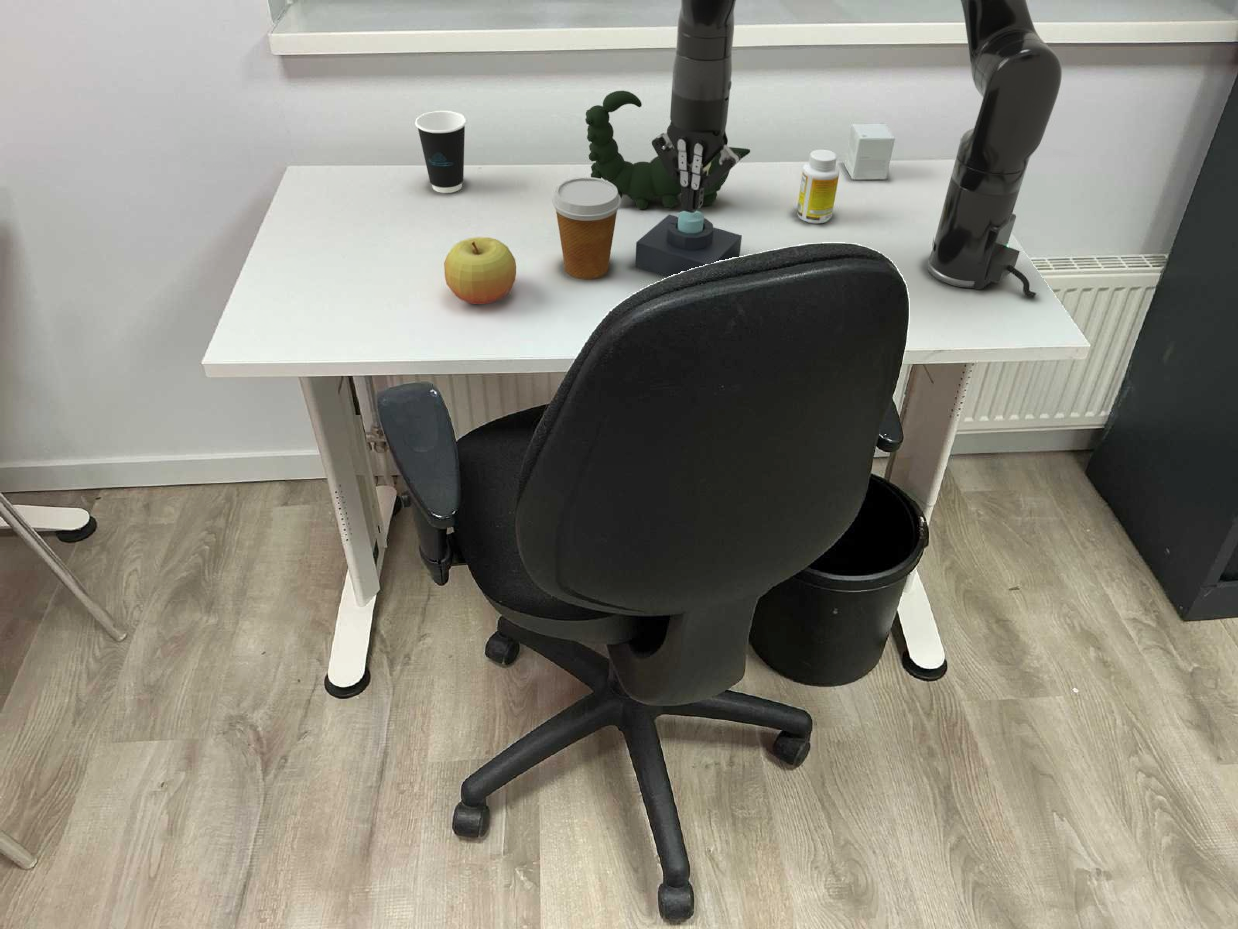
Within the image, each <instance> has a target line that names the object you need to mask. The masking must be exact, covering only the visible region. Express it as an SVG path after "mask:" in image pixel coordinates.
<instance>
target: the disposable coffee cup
mask: <svg viewBox="0 0 1238 929" xmlns="http://www.w3.org/2000/svg"><path fill="white" fill-rule="evenodd" d="M551 203H552V205H553V208H554V210H555V214H556V219H557V225H558V233H559V240H560V245H561V252H562V258H563V264H564V271H565V272H566V273H567V274H568V275H569V276H571V277H573V278H576V279H581V280H592V279H597V278H600V277H603V276H604V275H606V274H607V273H608V271H609V266H610V258H611V252H612V246H613V241H614V233H615V226H616V220H617V215H618V210H619V208H620V206H621V204H622V199H621V197H620V195H619V194H618V190H617V188H616V186H615V185H613V184H612V183H610V182H609V181H607V180H604V179H603V178H601V179H599V178H593V177H591V176H580V177H579V176H578V177H574V178H570V179H566V180H563V181H562V182H560V183H559V184H558V185H556V188H555V190H554V193H553V195H552V197H551Z"/></svg>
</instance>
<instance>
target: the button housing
mask: <svg viewBox="0 0 1238 929" xmlns="http://www.w3.org/2000/svg"><path fill="white" fill-rule="evenodd" d="M742 240H743V235H742V234H738V233H734V232H731V231H728V230H725V229H721V228H718V227H714V223H712V222H711V221H710V220H708V219H707V218H705V217H704V222H703V230H702V232H699V233H685V232H681V231H679V230H678V216H676V215H673V214H670V213H669V214H668V215H667V216H665V217H664V218H663V219H662V220H660V221H659V222H658V223H657V224H656V225H655V226H653V228H650V230H649V231H648V232H646V233H645V234H644V235H643V236H642V237H641V238H639V240H638V239H637V241H636V242H635V265H634V266H635V267H636V268H638V269H642V270H646V271H648V272H650V273H654V274H658V275H661V276H664V277H667V278H669V277H668V276H671V275H673V274H678V273H680V272H681V271H687V270H689V269H691V268H695V267H699V266H703V265H705V264H711V263H714V262H716V261H719V260H725V259H729V258H732V257H739V256H740V257H741V248H742ZM740 257H739V258H740Z"/></svg>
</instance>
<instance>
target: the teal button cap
mask: <svg viewBox="0 0 1238 929" xmlns="http://www.w3.org/2000/svg"><path fill="white" fill-rule="evenodd" d="M677 217H678V230H679V231H681V232H685V233H699V232H702V230H703V222H704V218H705V215H704V213H703V212H701V211H699V210H697V211H695V212H694V213H690V212H686V211H683V210H682V211H680V212H678V216H677Z"/></svg>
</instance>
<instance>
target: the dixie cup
mask: <svg viewBox="0 0 1238 929" xmlns="http://www.w3.org/2000/svg"><path fill="white" fill-rule="evenodd" d="M466 124H467V118H466V116H464V115H463V114H461V113H460V112H456V111H451V110H434V111H429V112H424V113H423V114H421V115H419V116H418V117H417V118H416V119H415V121H414V125H415V126H416V128H417V130H418V136H419V139H420V144H421V149H422V152H423V157H424V162H425V166H426V171H427V175H428V179H429V183H430V184H431V186H432V189H433V190H434V191H435V192H436V193H441V194H451V193H455V192H457V191H460V190H461V189H462V187H463V182H464V176H465V175H464V174H465V137H466V136H465V134H466V130H465V129H466Z"/></svg>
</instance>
